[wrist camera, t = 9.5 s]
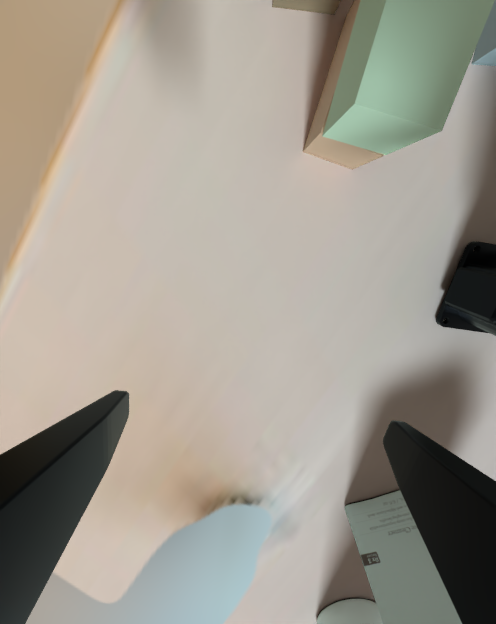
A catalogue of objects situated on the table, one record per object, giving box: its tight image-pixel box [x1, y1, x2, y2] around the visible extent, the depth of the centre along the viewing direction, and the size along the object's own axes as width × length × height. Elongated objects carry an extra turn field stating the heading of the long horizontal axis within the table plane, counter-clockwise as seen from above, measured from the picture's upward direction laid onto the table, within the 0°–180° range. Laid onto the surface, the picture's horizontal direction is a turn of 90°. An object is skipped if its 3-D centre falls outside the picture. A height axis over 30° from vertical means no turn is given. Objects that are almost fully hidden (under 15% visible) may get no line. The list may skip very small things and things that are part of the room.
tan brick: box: [303, 0, 384, 170], centre depth 14 cm, size 7×4×4 cm, turn 163°
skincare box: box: [345, 490, 462, 624], centre depth 21 cm, size 8×6×15 cm
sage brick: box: [322, 0, 495, 155], centre depth 10 cm, size 7×4×4 cm, turn 167°
